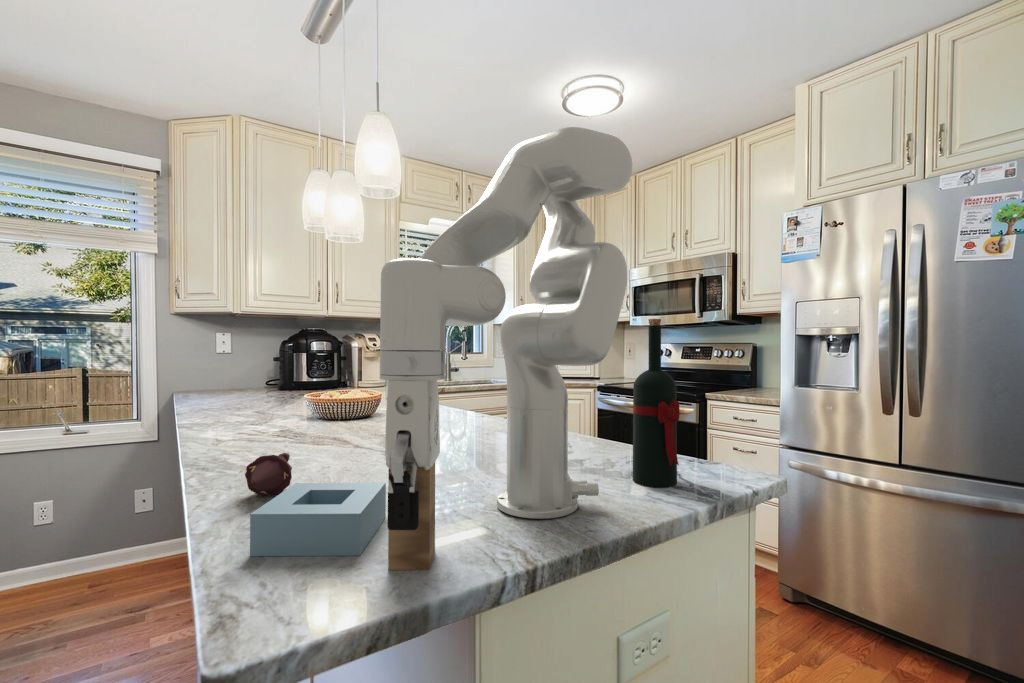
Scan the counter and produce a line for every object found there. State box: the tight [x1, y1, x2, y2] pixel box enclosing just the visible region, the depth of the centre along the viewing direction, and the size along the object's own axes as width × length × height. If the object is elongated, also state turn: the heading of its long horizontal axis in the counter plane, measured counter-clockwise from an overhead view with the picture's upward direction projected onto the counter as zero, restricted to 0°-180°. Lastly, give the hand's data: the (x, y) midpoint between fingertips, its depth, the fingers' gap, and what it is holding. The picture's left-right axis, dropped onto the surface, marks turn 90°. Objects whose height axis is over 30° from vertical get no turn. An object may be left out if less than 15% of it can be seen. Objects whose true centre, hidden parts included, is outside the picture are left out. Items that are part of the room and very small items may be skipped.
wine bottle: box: [632, 318, 680, 489], centre depth 89 cm, size 8×10×30 cm
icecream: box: [244, 452, 293, 498], centre depth 82 cm, size 7×7×15 cm
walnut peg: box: [387, 462, 436, 571], centre depth 57 cm, size 5×5×12 cm
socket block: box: [249, 482, 387, 557], centre depth 65 cm, size 13×13×5 cm
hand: (411, 513), depth 57 cm, fingers open, 9 cm apart
